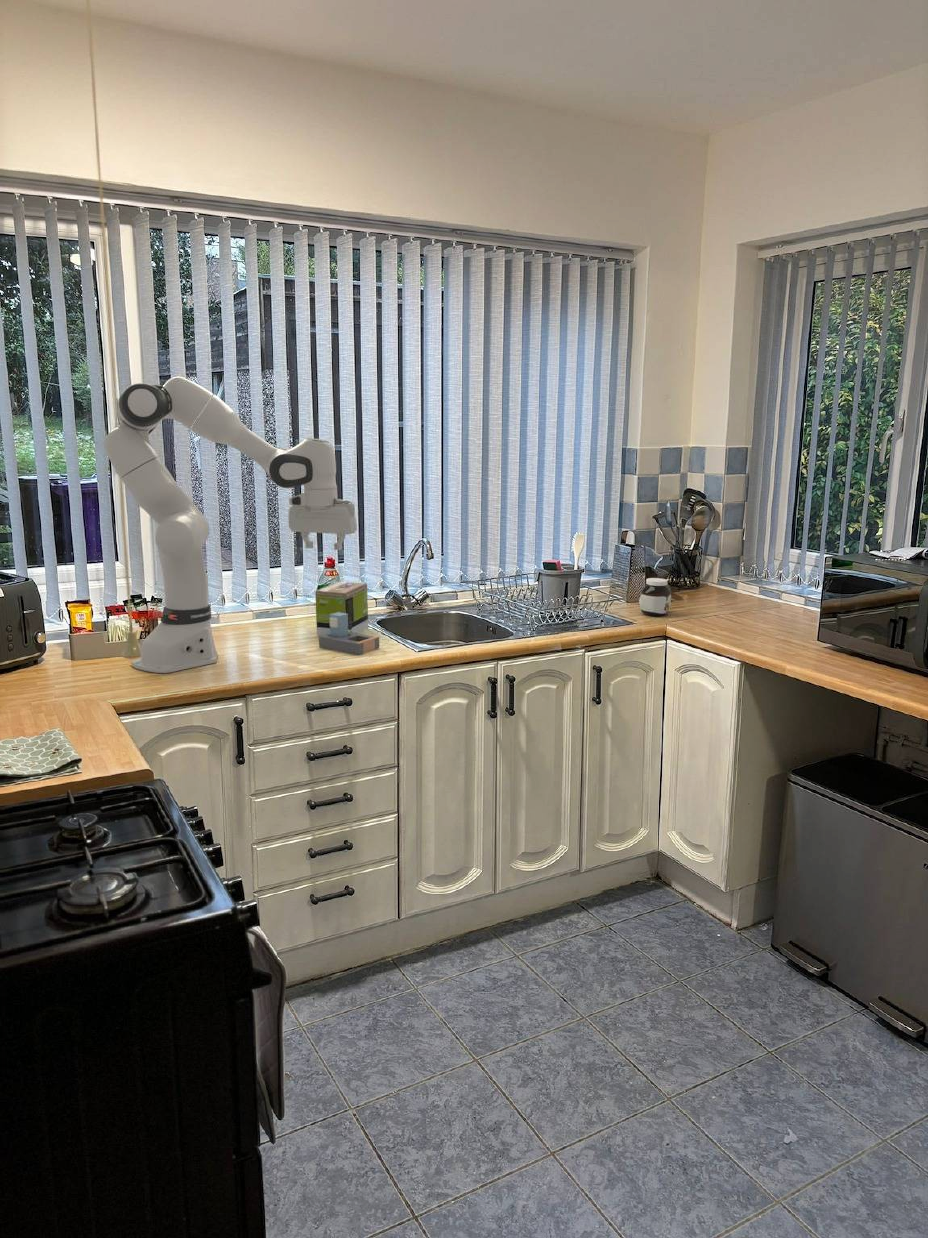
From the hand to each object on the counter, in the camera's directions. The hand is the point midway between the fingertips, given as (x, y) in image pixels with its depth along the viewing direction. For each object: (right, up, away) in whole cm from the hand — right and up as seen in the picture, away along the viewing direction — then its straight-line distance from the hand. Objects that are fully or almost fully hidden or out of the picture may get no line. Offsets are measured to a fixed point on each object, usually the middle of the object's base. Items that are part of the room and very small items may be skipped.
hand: (323, 548), depth 258 cm
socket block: (+7, -28, +1) cm, 29 cm away
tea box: (+3, -24, +18) cm, 31 cm away
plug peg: (+4, -27, +2) cm, 27 cm away
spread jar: (+101, -18, +54) cm, 116 cm away
